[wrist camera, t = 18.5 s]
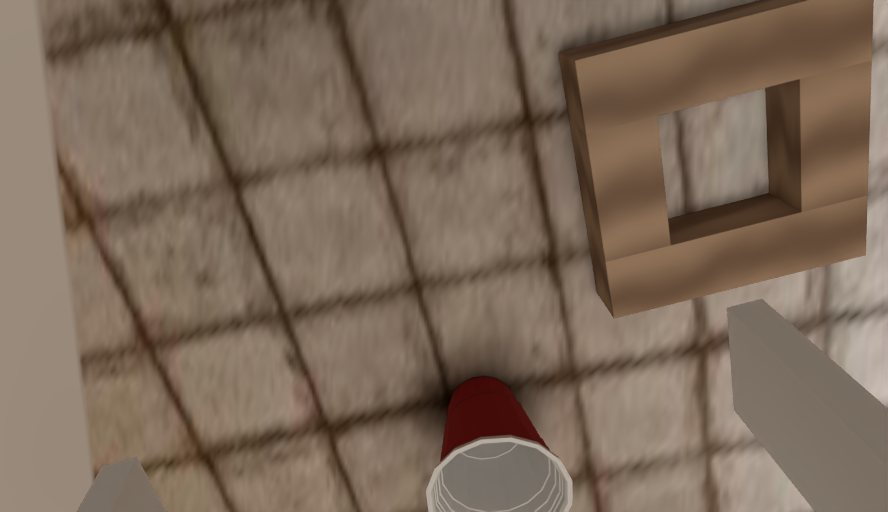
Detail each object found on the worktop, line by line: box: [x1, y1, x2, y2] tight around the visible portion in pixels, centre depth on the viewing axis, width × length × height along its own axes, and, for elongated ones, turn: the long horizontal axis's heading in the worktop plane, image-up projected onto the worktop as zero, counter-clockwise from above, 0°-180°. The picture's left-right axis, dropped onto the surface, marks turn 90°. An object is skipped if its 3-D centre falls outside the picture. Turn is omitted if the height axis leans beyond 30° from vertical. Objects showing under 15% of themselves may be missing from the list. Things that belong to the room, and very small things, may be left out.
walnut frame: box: [559, 0, 874, 318], centre depth 49 cm, size 20×20×4 cm
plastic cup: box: [426, 376, 572, 512], centre depth 54 cm, size 11×11×12 cm
